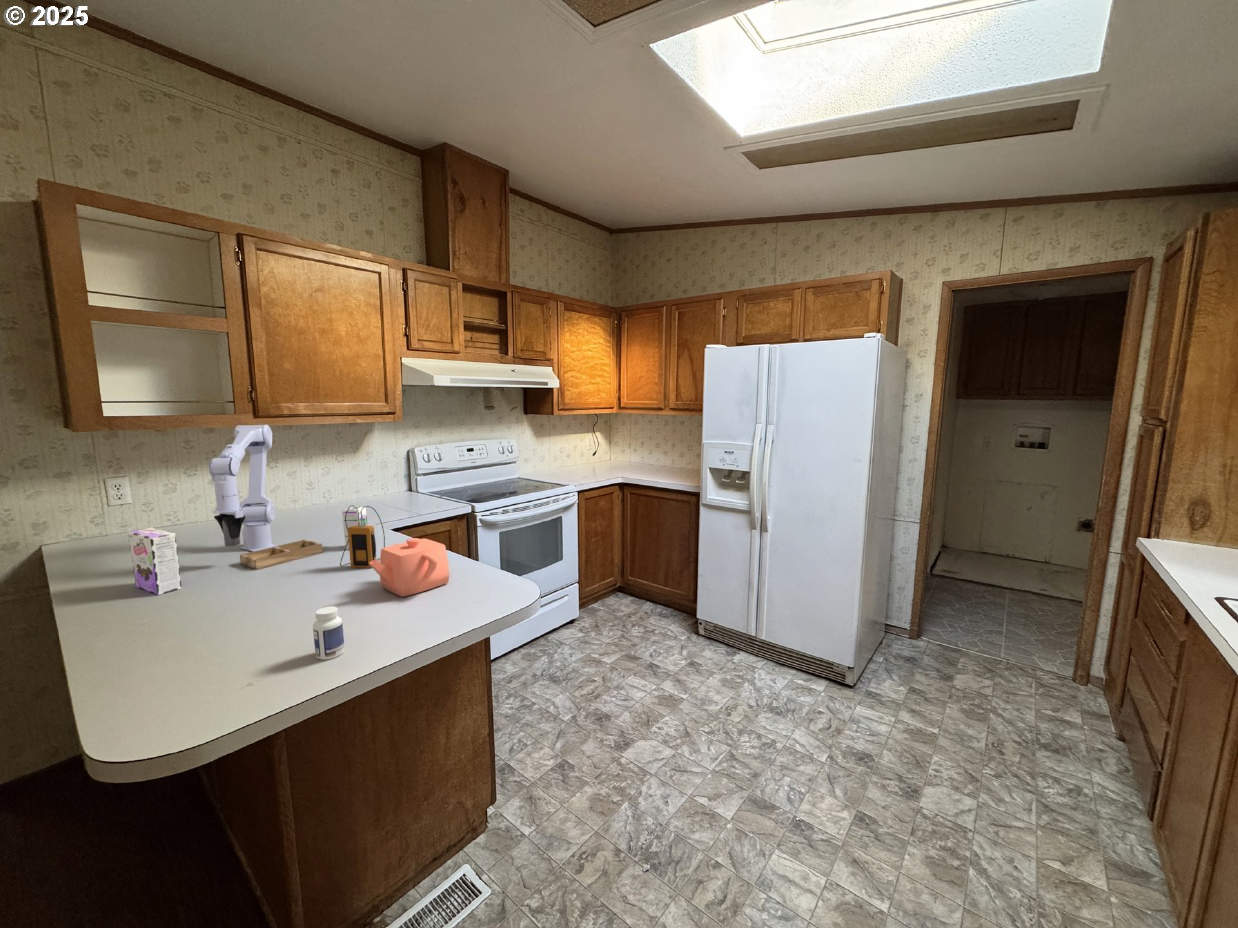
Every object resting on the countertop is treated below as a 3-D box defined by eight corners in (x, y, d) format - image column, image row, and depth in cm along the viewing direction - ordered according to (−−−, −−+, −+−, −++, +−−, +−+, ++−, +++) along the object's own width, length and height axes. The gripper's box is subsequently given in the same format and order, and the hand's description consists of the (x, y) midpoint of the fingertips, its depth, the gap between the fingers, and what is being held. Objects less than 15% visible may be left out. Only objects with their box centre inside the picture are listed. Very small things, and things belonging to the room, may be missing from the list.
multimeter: (399, 558, 171) (395, 499, 169) (383, 568, 162) (378, 506, 159) (357, 557, 173) (353, 499, 170) (339, 567, 163) (333, 505, 160)
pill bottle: (349, 647, 111) (346, 604, 110) (336, 660, 106) (333, 615, 105) (324, 648, 111) (320, 605, 110) (310, 660, 106) (306, 615, 105)
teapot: (419, 571, 160) (417, 527, 158) (461, 587, 146) (458, 540, 144) (353, 590, 144) (350, 542, 142) (392, 610, 130) (389, 557, 129)
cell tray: (240, 564, 167) (239, 554, 166) (306, 548, 184) (305, 539, 184) (256, 569, 161) (255, 560, 161) (322, 552, 179) (321, 543, 178)
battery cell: (222, 545, 164) (219, 518, 163) (237, 541, 168) (234, 515, 167) (228, 546, 162) (225, 519, 161) (242, 543, 166) (239, 517, 164)
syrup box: (361, 549, 182) (358, 509, 180) (344, 549, 182) (341, 509, 180) (369, 545, 187) (366, 506, 185) (353, 545, 187) (350, 506, 185)
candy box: (134, 587, 147) (126, 531, 145) (160, 580, 153) (153, 526, 150) (157, 595, 141) (149, 537, 139) (183, 588, 146) (176, 532, 144)
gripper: (202, 495, 163) (207, 536, 165) (222, 499, 156) (227, 543, 158) (228, 491, 169) (232, 531, 171) (249, 495, 162) (253, 537, 163)
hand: (232, 536), depth 165 cm, fingers closed on battery cell, 4 cm apart
